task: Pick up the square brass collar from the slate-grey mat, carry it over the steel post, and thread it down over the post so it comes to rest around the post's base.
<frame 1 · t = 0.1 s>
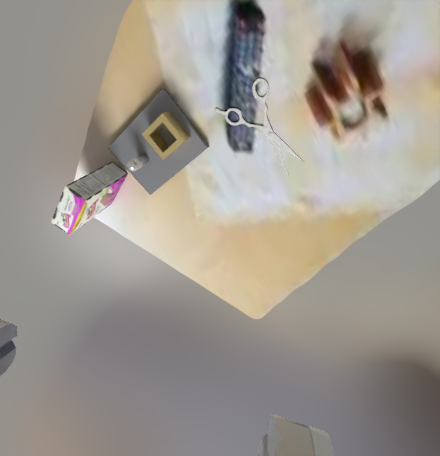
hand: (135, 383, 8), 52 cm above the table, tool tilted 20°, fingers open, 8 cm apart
candy bar box: (113, 183, 67), on the table
slate mat: (158, 146, 59), on the table
steel post: (147, 156, 61), resting on slate mat
scissors: (267, 131, 53), on the table
brass collar: (170, 133, 56), point 1 cm above the table, touching slate mat
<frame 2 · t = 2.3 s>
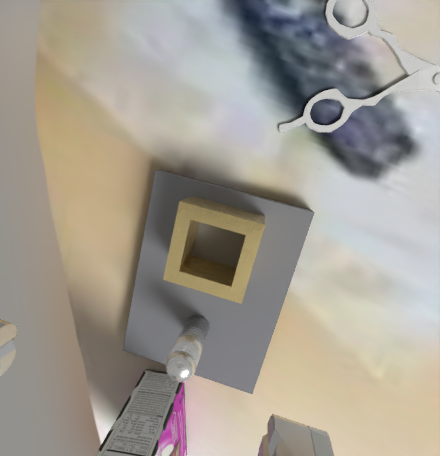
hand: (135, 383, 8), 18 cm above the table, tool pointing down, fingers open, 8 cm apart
candy bar box: (168, 409, 31), on the table
slate mat: (210, 283, 26), on the table
steel post: (201, 317, 27), resting on slate mat
scissors: (421, 84, 21), on the table
brass collar: (219, 240, 24), point 1 cm above the table, touching slate mat
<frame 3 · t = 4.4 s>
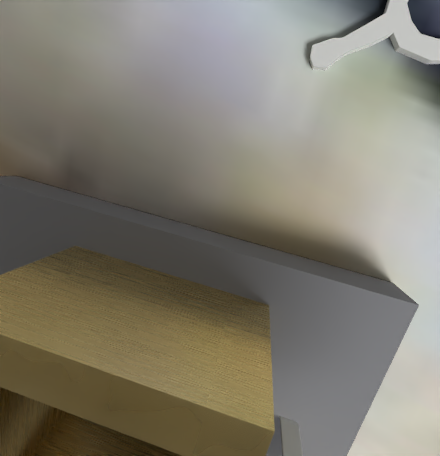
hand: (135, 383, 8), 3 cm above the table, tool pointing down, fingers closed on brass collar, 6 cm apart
slate mat: (143, 429, 12), on the table
brass collar: (150, 359, 9), point 1 cm above the table, touching gripper, slate mat
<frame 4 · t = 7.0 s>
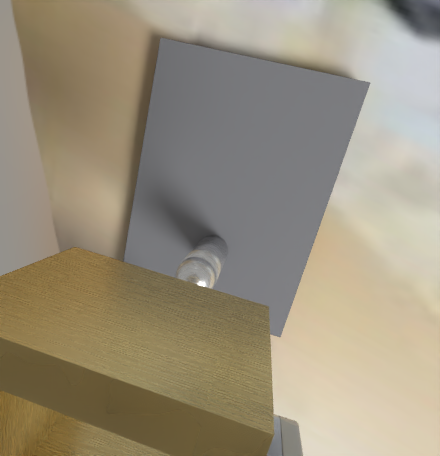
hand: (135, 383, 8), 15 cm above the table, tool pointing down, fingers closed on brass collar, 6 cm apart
slate mat: (228, 198, 21), on the table
steel post: (216, 244, 22), resting on slate mat
brass collar: (149, 360, 9), point 14 cm above the table, touching gripper
when the fingers open (5 cm above the table, at t = 9.7 s): brass collar drops 2 cm, resting on slate mat.
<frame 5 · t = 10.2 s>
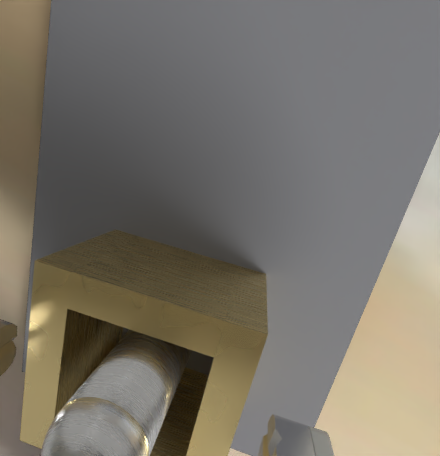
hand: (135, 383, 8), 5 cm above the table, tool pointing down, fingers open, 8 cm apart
slate mat: (202, 225, 12), on the table
steel post: (184, 303, 13), resting on slate mat
brass collar: (172, 319, 11), point 1 cm above the table, touching slate mat
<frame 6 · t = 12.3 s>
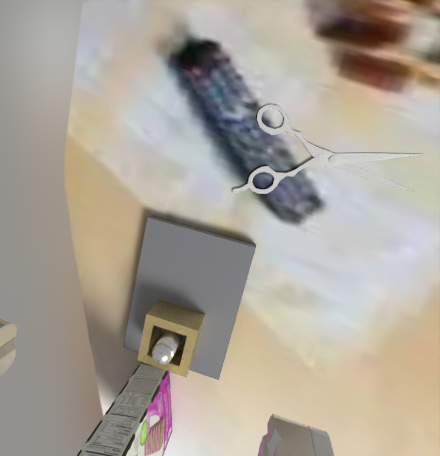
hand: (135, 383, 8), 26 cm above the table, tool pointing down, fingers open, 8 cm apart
candy bar box: (157, 395, 40), on the table
slate mat: (187, 296, 36), on the table
steel post: (181, 322, 37), resting on slate mat
scissors: (324, 161, 31), on the table
brass collar: (177, 327, 35), point 1 cm above the table, touching slate mat
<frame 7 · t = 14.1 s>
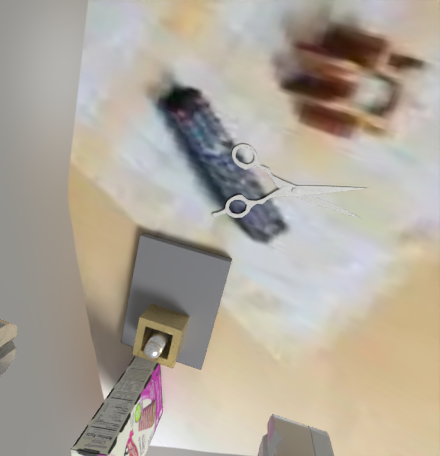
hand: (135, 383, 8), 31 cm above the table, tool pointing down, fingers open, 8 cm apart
candy bar box: (150, 382, 47), on the table
slate mat: (174, 300, 42), on the table
steel post: (170, 322, 43), resting on slate mat
scissors: (288, 191, 37), on the table
brass collar: (166, 327, 42), point 1 cm above the table, touching slate mat
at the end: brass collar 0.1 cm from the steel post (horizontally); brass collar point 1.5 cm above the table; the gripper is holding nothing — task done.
